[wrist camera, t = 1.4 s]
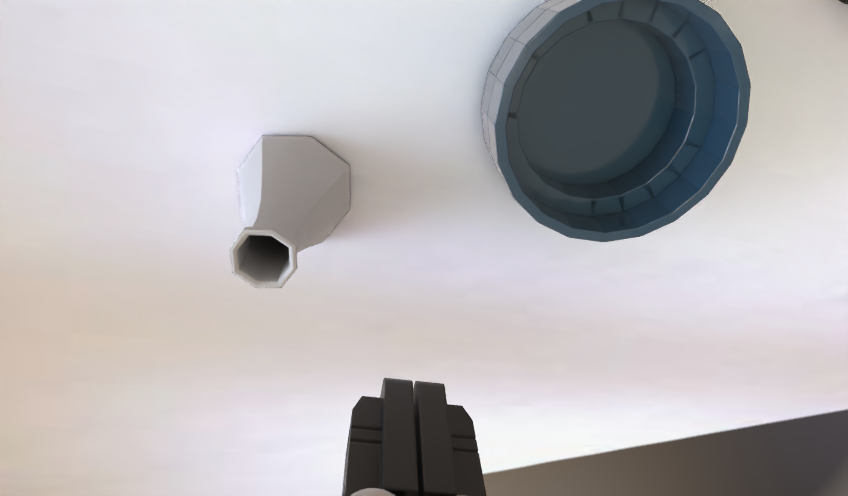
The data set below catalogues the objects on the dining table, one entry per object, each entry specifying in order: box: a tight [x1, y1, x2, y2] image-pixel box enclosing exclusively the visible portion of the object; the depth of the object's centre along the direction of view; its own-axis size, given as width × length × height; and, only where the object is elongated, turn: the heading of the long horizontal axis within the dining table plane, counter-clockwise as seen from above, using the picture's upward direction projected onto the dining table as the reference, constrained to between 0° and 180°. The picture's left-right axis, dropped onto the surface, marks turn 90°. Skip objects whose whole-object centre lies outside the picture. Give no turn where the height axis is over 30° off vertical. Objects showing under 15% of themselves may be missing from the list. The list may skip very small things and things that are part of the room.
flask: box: [230, 135, 350, 288], centre depth 32 cm, size 7×7×10 cm
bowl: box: [481, 0, 751, 242], centre depth 32 cm, size 13×13×6 cm
